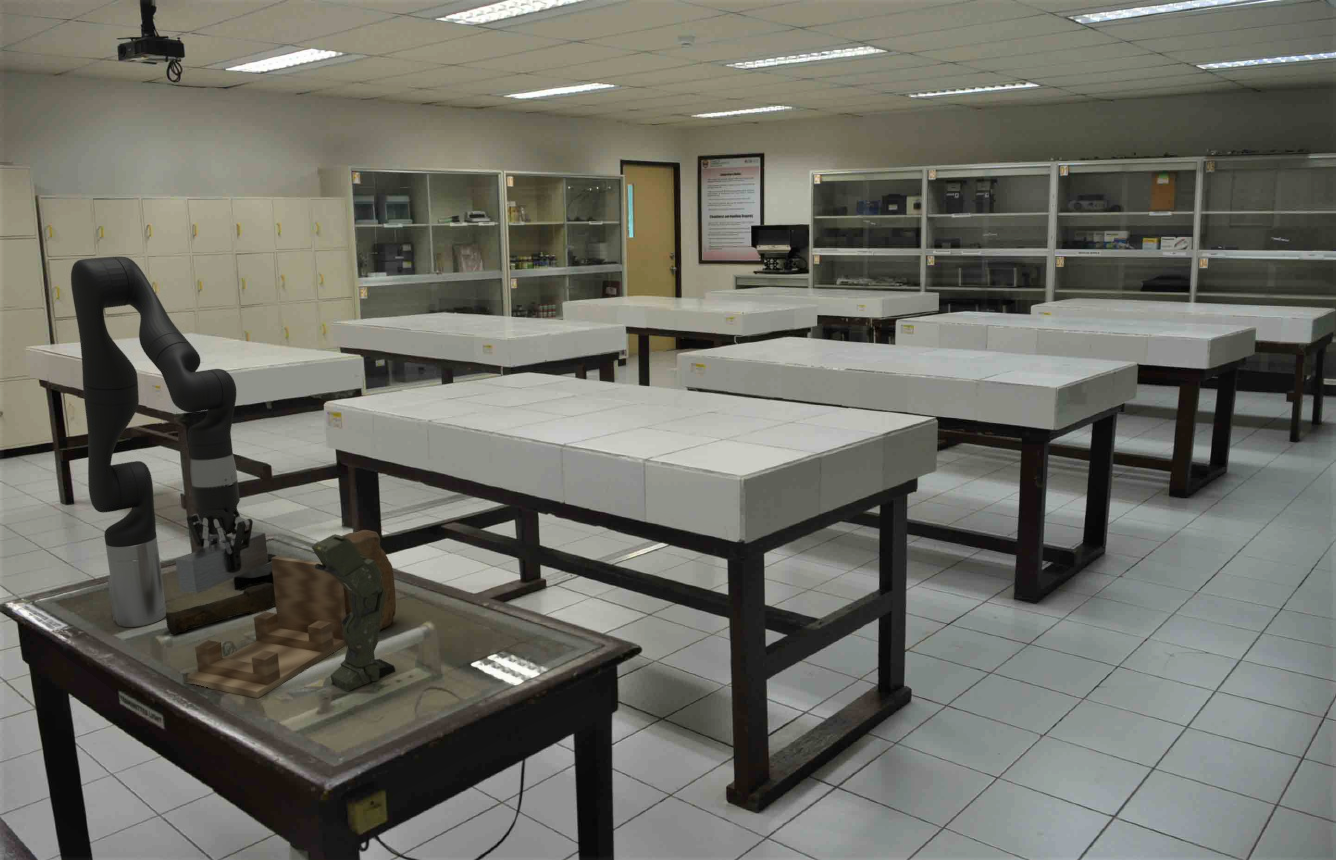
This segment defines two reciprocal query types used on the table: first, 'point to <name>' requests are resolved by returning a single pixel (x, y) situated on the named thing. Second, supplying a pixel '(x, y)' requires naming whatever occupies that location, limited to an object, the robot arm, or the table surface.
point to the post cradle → (280, 633)
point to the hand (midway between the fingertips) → (225, 569)
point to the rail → (218, 564)
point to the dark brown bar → (223, 608)
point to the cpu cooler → (256, 575)
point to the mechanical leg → (356, 610)
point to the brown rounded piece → (371, 549)
